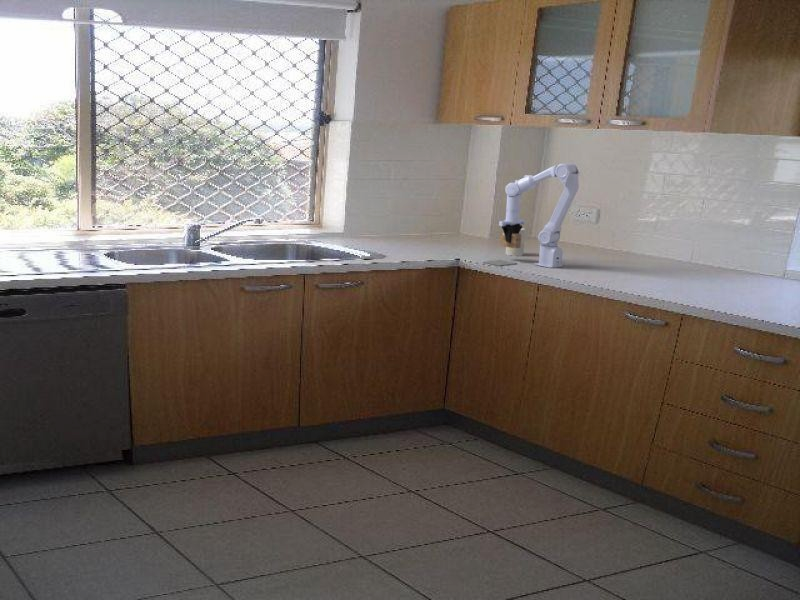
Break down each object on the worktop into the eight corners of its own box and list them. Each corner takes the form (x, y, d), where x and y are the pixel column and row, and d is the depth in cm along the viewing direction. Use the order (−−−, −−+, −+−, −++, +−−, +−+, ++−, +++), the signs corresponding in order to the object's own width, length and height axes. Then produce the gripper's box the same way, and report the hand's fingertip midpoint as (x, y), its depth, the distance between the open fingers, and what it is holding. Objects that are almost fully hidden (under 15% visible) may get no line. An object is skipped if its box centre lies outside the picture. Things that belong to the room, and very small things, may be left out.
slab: (520, 247, 368) (521, 234, 367) (515, 248, 366) (516, 234, 365) (505, 245, 375) (505, 231, 373) (500, 245, 373) (501, 232, 371)
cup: (502, 254, 387) (504, 228, 385) (509, 252, 394) (510, 227, 392) (519, 256, 384) (521, 230, 381) (525, 254, 391) (527, 228, 388)
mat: (517, 264, 363) (517, 263, 363) (499, 266, 356) (499, 265, 356) (500, 260, 370) (500, 259, 370) (482, 262, 363) (482, 261, 363)
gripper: (517, 209, 374) (515, 239, 377) (494, 210, 365) (492, 241, 368) (529, 210, 369) (527, 241, 372) (506, 212, 360) (504, 243, 363)
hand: (511, 241), depth 370 cm, fingers closed on slab, 3 cm apart
